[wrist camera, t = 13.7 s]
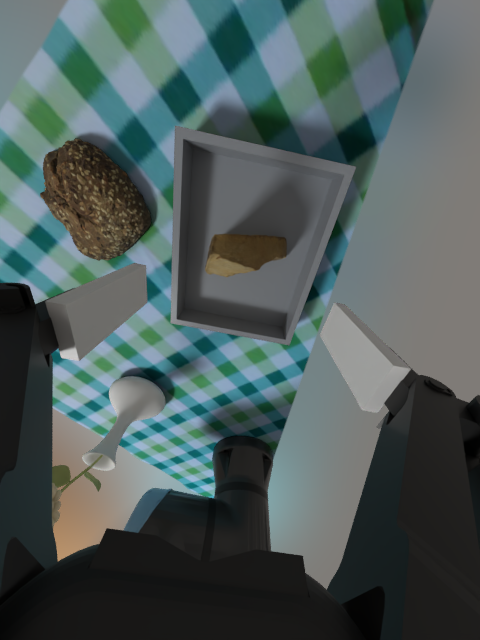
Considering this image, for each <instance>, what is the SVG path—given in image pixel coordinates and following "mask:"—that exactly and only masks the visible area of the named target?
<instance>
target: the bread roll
mask: <svg viewBox="0 0 480 640" xmlns="http://www.w3.org/2000/svg"><path fill="white" fill-rule="evenodd" d="M43 171H44V172H43V174H44V179H45V183H44V184H45V187H46V188H45V192H42V193H40V195H41V198H42V199H44V201H45V203H46V204H47V206H48V207H49V209H50V211H51V212H52V215H53V216H54V217H55V218H56V219H57V220H59V221H60V222H61V223H63V225H64V226H65V228H66V230H68V231H69V232H70V235H71V236H72V239H73V242H74V243H75V245H76V246H77V248H78V250H79V251H80V252H81V253H82V254H84V255H86V256H88V257H90V258H93V259H97V260H99V261H100V259H104V260H110V259H112V258H115V257H117V256H120V255H121V254H123V253H124V252H125V251H127V250H128V249H129V248H131V247H132V245H133V244H134V243H135V242H136V241H137V240H138V239H139V238H140V237H141V236H142V235H143V234H144V232H145V231H146V230H147V229H148V228H149V226H150V224H151V217H150V212H149V210H148V209H147V206H146V204H145V202H144V199H143V196H142V195H141V194H140V193H139V191H138V190H137V188H136V186H135V185H134V184H133V183H132V182H131V180H130V179H129V177H128V175H127V173H126V172H124V171H123V170H122V169H120V167H119V166H118V165H116V164H115V163H114V162H113V161H112V160H111V159H110V158H109V157H108V156H107V155H106V154H105V153H104V152H103V151H102V150H101V149H99V148H98V147H96V146H94V145H92V144H90V143H88V142H84V141H82V140H81V139H75V140H74V141H69V140H68V141H66V142H65V145H63V147H61V148H59V149H58V151H52V152H49V153H48V154H46V156H45V159H44V162H43Z"/></svg>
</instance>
